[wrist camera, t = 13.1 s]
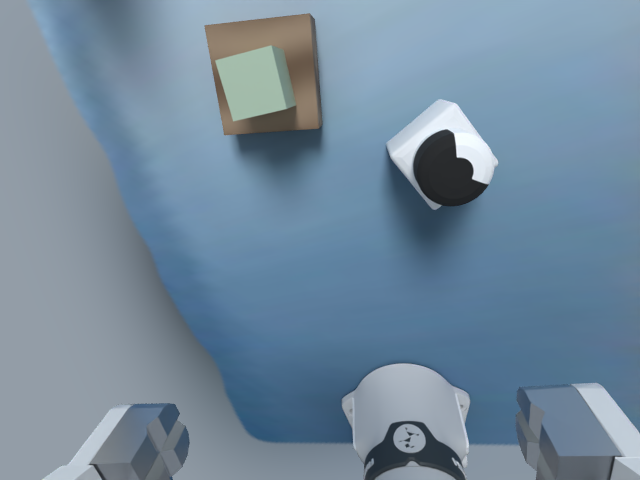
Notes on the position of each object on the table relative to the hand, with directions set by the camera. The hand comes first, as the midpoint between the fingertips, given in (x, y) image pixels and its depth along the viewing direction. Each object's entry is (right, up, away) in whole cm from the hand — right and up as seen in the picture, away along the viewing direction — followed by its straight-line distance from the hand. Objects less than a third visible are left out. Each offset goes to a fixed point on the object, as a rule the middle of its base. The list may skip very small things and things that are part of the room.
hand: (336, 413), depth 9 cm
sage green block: (-6, +19, +27) cm, 34 cm away
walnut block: (-5, +21, +30) cm, 37 cm away
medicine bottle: (+12, +14, +31) cm, 36 cm away
